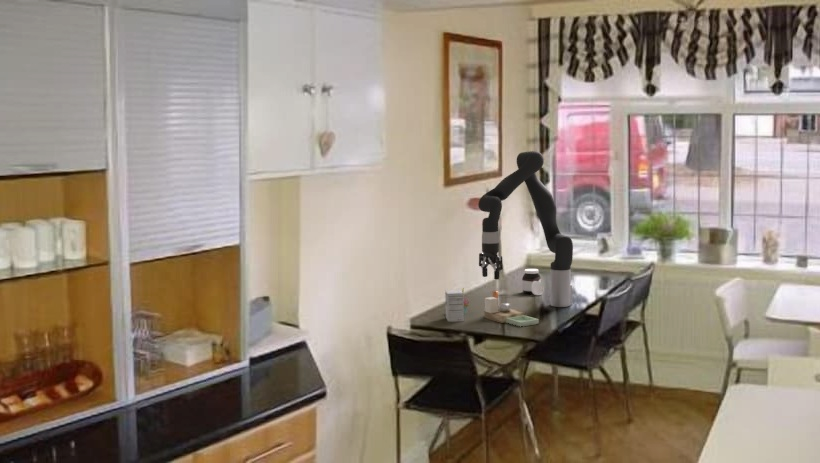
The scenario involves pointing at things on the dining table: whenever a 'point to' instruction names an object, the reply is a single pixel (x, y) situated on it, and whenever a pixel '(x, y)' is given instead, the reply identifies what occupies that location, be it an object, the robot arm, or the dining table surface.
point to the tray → (522, 320)
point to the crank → (502, 304)
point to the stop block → (491, 304)
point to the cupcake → (465, 303)
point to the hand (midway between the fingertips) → (490, 278)
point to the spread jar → (532, 282)
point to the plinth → (503, 315)
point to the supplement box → (454, 305)
